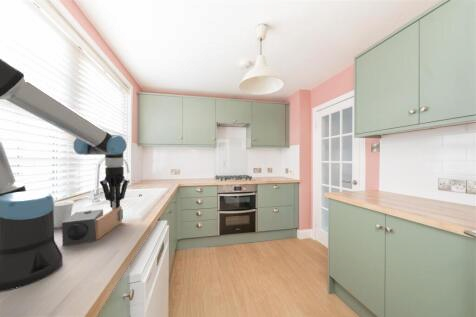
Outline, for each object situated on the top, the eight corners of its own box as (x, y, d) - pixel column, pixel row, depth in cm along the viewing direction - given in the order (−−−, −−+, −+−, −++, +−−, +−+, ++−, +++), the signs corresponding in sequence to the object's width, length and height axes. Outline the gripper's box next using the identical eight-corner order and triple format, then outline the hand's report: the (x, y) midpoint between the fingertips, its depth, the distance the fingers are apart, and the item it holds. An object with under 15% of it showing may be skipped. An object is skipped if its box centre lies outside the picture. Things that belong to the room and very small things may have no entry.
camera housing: (93, 242, 74) (92, 218, 73) (60, 247, 70) (59, 221, 69) (103, 228, 88) (102, 207, 88) (76, 231, 84) (76, 210, 84)
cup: (69, 227, 89) (68, 204, 89) (41, 230, 85) (41, 207, 85) (78, 220, 98) (77, 200, 98) (53, 223, 94) (53, 201, 94)
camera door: (100, 239, 76) (100, 219, 75) (95, 239, 75) (95, 219, 75) (123, 221, 95) (123, 206, 95) (119, 221, 95) (119, 206, 95)
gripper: (131, 166, 96) (132, 211, 97) (105, 166, 95) (105, 212, 95) (124, 166, 89) (125, 215, 89) (95, 167, 87) (96, 216, 88)
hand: (115, 213), depth 92 cm, fingers closed
